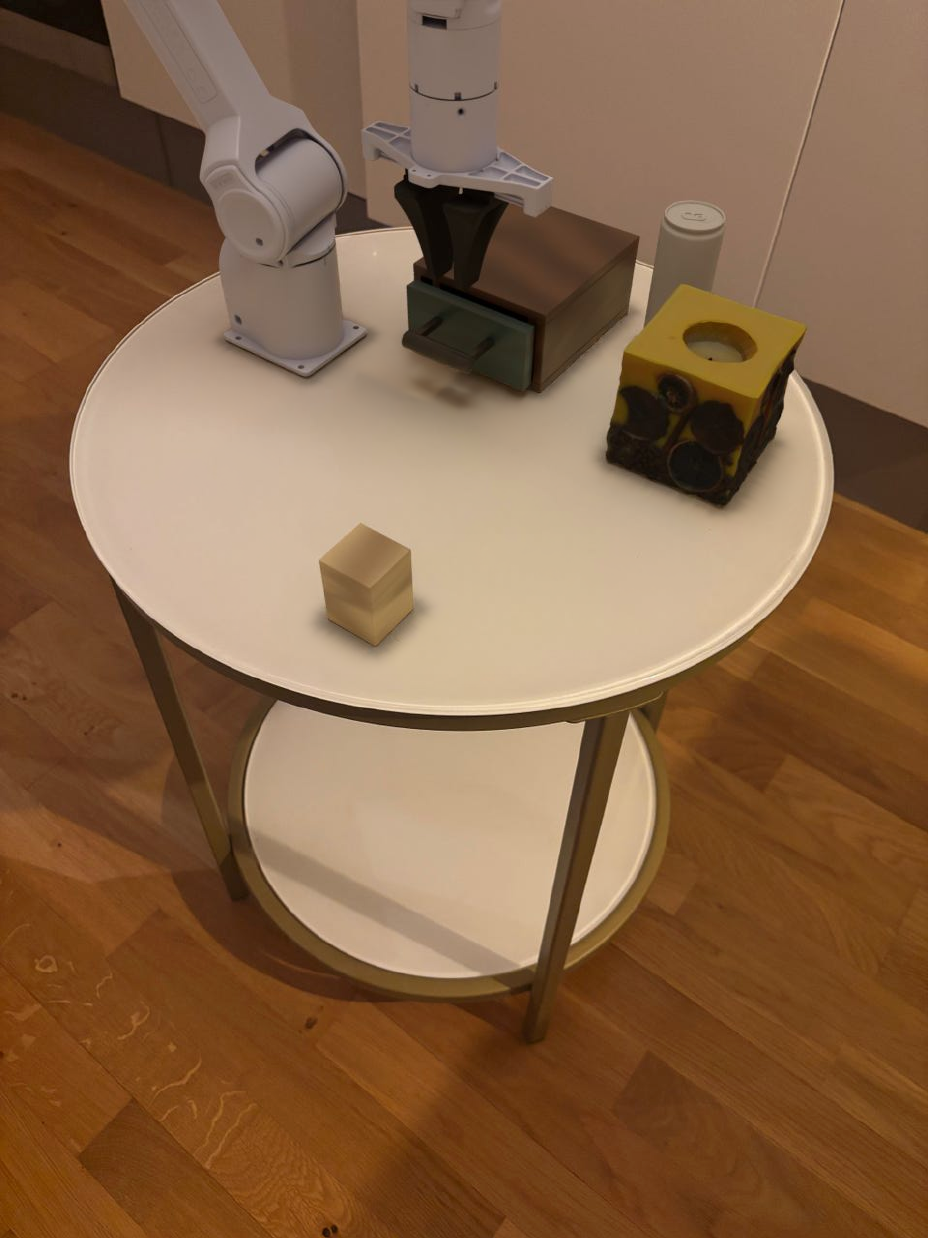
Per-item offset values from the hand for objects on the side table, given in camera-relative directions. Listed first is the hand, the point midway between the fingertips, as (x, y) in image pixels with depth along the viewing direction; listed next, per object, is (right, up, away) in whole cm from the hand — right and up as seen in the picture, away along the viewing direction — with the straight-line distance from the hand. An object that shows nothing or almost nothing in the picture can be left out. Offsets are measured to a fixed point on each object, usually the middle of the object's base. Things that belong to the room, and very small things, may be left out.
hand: (454, 278), depth 72 cm
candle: (+18, -12, +2) cm, 22 cm away
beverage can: (+18, -3, +10) cm, 21 cm away
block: (-5, -25, -9) cm, 27 cm away
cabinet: (+6, 0, +13) cm, 14 cm away
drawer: (+3, -2, +10) cm, 10 cm away
